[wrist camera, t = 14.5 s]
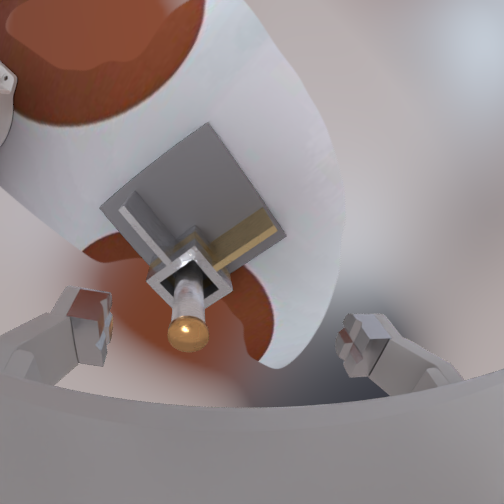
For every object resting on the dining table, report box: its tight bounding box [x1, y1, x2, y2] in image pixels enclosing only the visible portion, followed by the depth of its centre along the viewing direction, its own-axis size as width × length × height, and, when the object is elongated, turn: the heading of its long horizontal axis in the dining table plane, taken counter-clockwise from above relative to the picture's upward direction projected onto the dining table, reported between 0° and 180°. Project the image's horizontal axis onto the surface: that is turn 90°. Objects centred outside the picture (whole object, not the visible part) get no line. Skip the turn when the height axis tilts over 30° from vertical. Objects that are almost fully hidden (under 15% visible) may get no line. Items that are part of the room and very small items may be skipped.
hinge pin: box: [168, 260, 209, 352], centre depth 42 cm, size 5×5×19 cm
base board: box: [100, 122, 286, 273], centre depth 48 cm, size 22×21×1 cm
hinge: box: [118, 190, 278, 309], centre depth 44 cm, size 19×19×8 cm
